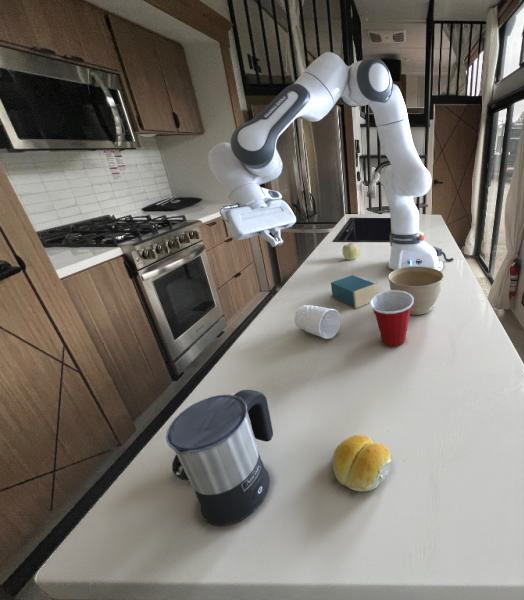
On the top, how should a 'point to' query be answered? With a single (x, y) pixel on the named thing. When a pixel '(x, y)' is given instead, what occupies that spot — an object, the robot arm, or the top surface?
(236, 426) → the milk frother
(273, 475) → the top surface
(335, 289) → the teal and cream block
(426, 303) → the planter bowl
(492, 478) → the top surface
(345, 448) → the bread roll
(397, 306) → the plastic cup
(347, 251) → the fruit
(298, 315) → the white cup
